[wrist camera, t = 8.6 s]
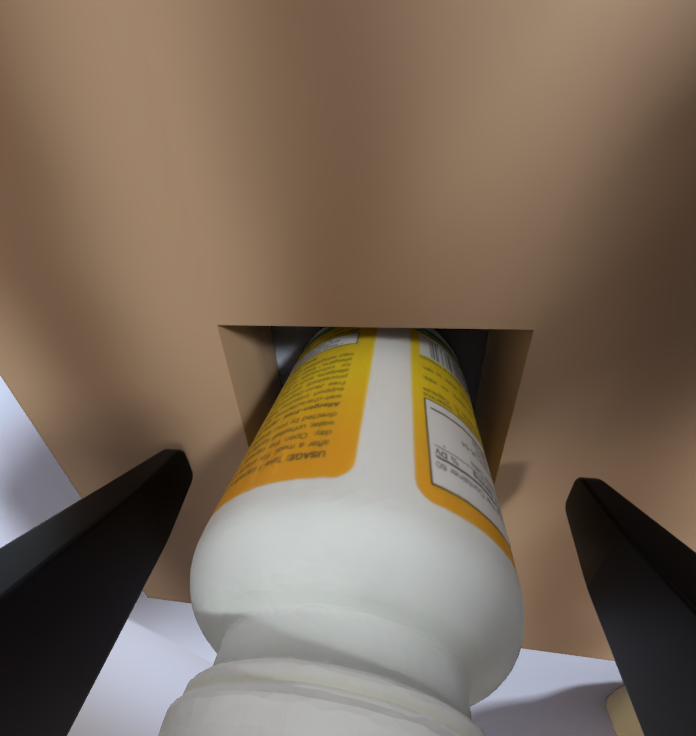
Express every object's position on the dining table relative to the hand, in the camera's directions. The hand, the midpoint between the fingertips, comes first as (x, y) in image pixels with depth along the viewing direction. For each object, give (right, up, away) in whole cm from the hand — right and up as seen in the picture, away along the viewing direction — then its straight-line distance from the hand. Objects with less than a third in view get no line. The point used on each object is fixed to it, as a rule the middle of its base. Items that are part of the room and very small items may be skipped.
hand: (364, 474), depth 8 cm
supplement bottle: (+1, +2, +4) cm, 4 cm away
